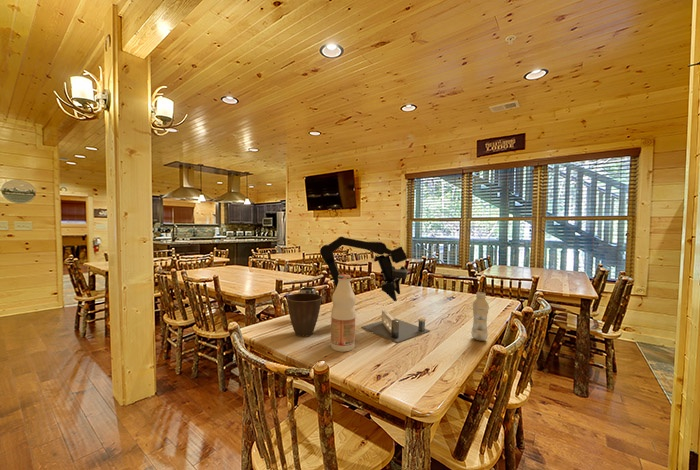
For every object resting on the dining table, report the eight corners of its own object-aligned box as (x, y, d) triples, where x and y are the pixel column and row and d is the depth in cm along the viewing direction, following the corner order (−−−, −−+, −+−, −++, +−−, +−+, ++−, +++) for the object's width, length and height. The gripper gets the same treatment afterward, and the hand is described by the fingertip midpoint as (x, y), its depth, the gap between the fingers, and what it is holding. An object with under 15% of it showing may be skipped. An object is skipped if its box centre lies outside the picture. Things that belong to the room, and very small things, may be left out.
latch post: (422, 333, 128) (422, 320, 128) (417, 331, 130) (418, 318, 130) (425, 332, 130) (425, 319, 130) (420, 330, 132) (421, 317, 131)
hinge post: (395, 340, 120) (395, 322, 119) (389, 338, 122) (390, 320, 122) (400, 338, 121) (400, 321, 121) (394, 336, 124) (395, 319, 123)
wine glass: (308, 321, 140) (308, 291, 140) (295, 318, 144) (296, 288, 144) (318, 317, 147) (318, 288, 146) (306, 314, 151) (306, 286, 151)
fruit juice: (327, 350, 108) (328, 276, 108) (334, 340, 118) (336, 272, 117) (351, 353, 106) (353, 278, 105) (357, 343, 115) (358, 274, 114)
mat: (397, 343, 117) (397, 342, 117) (361, 327, 134) (361, 326, 134) (429, 331, 131) (429, 330, 131) (393, 318, 148) (393, 317, 148)
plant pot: (279, 333, 124) (279, 296, 124) (306, 325, 135) (307, 291, 135) (300, 343, 114) (301, 303, 114) (328, 333, 125) (328, 297, 125)
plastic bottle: (486, 338, 124) (488, 292, 124) (488, 344, 118) (490, 295, 117) (470, 335, 126) (472, 290, 126) (471, 341, 120) (473, 294, 119)
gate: (395, 334, 123) (395, 320, 123) (391, 334, 123) (392, 320, 123) (384, 322, 139) (385, 309, 139) (381, 322, 139) (382, 309, 138)
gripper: (399, 268, 125) (411, 301, 126) (405, 257, 143) (416, 286, 143) (375, 274, 129) (387, 306, 130) (384, 263, 147) (395, 292, 148)
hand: (397, 297), depth 138 cm, fingers open, 9 cm apart
